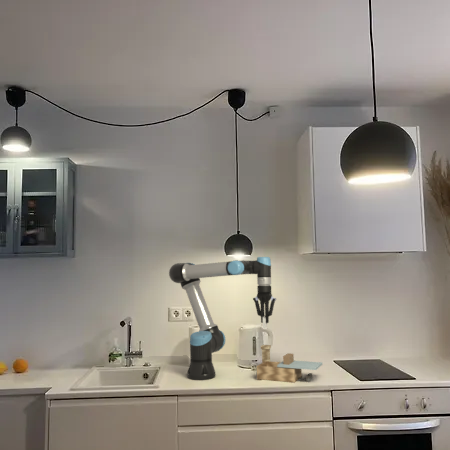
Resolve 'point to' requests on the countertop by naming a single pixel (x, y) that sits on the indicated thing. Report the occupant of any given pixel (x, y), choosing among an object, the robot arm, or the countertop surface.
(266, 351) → the beige wooden tall block
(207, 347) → the robot arm
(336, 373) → the countertop surface
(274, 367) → the toolbox
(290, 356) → the lid
